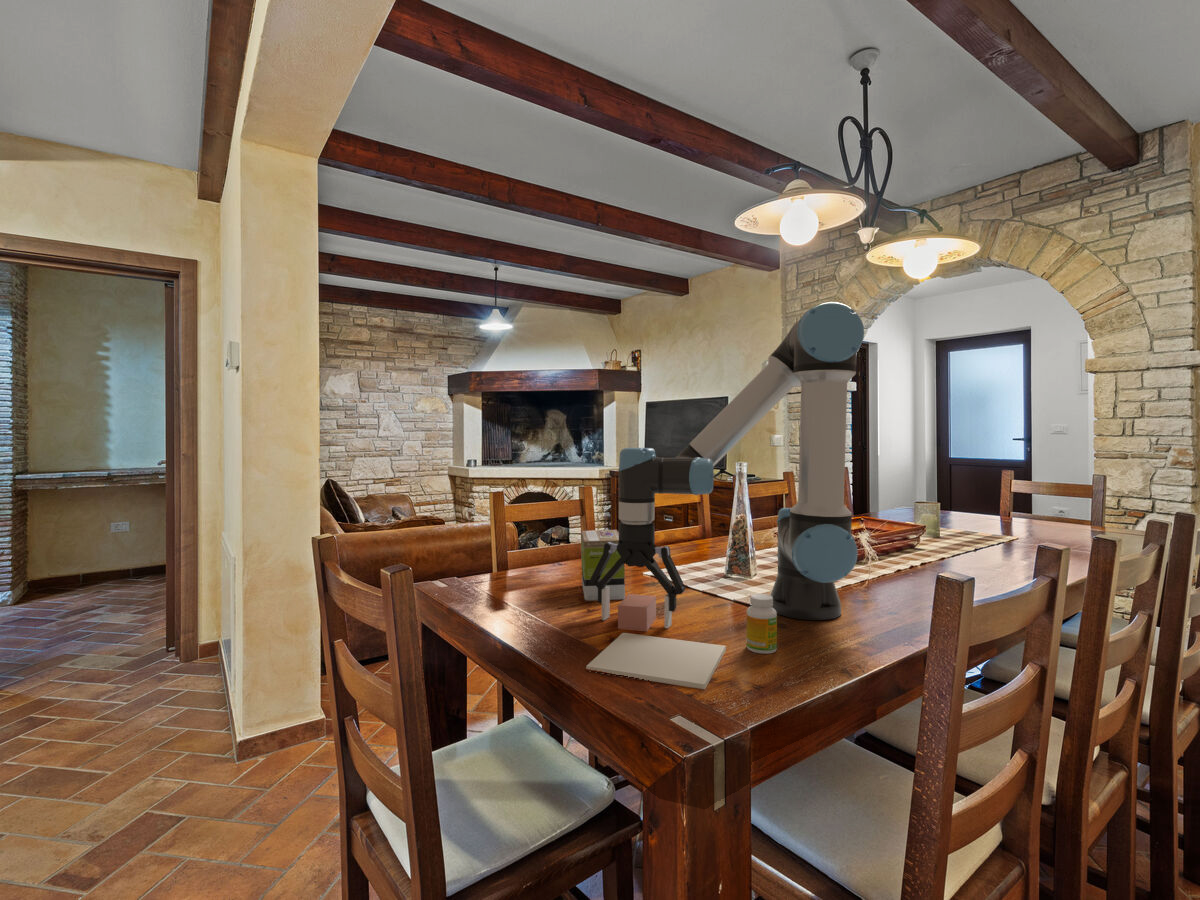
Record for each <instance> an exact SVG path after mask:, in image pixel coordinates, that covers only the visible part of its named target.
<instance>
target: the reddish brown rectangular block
mask: <svg viewBox="0 0 1200 900" xmlns="http://www.w3.org/2000/svg"><path fill="white" fill-rule="evenodd" d="M656 619H657V596H656V595H648V594H633V593H628V594H626V595H625V598H624V599H622V601H620V603H618V605H617V629H618V630H627V631H628V630H629V631H640V632H648V631H649V629H650V627H652V625H653V624H654V622H655V621H656Z"/></svg>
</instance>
